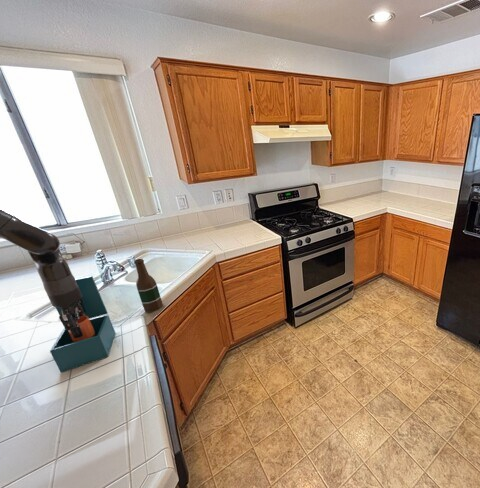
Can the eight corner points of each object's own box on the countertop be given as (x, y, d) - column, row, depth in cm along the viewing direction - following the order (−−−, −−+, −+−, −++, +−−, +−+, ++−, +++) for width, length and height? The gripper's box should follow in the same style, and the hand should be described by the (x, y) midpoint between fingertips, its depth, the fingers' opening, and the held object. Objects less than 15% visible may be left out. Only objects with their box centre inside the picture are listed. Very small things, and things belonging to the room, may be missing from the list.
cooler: (108, 356, 91) (99, 336, 89) (60, 372, 86) (49, 351, 83) (115, 333, 104) (108, 314, 101) (74, 345, 99) (65, 325, 96)
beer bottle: (167, 304, 123) (152, 257, 115) (150, 313, 116) (134, 264, 108) (156, 301, 126) (142, 255, 118) (140, 310, 119) (123, 262, 112)
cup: (70, 345, 89) (62, 328, 86) (75, 336, 94) (68, 319, 91) (93, 338, 92) (85, 322, 89) (96, 329, 96) (90, 313, 94)
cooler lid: (91, 276, 95) (94, 270, 99) (44, 286, 89) (50, 279, 93) (107, 313, 101) (109, 306, 105) (64, 325, 95) (68, 317, 100)
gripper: (71, 294, 82) (90, 338, 88) (83, 278, 94) (99, 317, 99) (38, 302, 79) (60, 347, 84) (55, 284, 90) (73, 324, 96)
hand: (81, 331), depth 92 cm, fingers closed on cup, 6 cm apart
